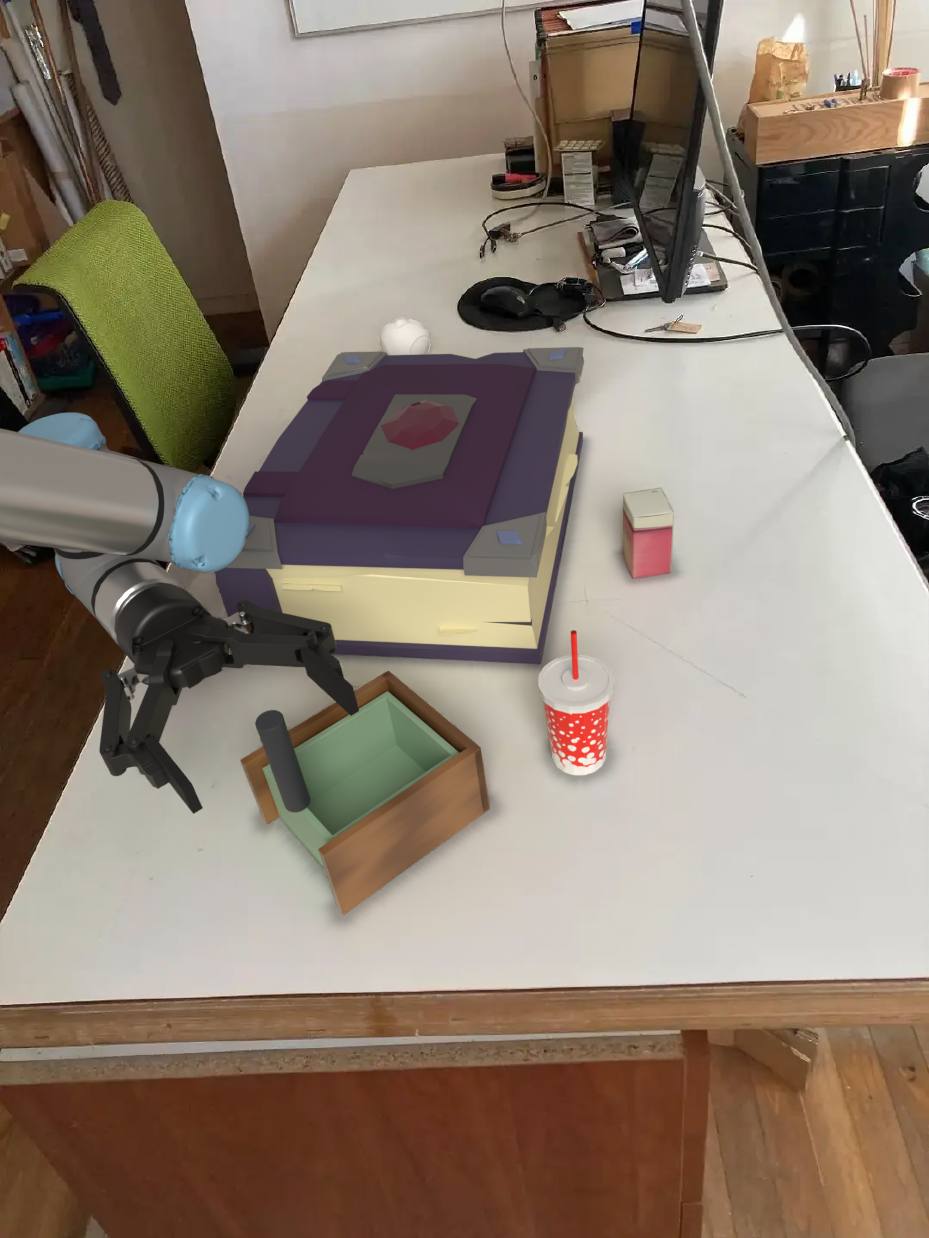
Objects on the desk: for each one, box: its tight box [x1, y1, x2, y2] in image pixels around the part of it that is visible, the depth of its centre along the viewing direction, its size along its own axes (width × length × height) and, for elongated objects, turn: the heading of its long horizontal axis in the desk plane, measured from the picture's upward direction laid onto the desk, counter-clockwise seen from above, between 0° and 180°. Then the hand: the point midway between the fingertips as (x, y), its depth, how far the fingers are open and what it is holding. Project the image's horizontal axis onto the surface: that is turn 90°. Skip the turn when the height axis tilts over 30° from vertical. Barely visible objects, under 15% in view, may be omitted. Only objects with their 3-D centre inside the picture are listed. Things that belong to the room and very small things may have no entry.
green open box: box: [254, 691, 459, 871], centre depth 72 cm, size 13×10×16 cm
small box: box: [621, 487, 675, 579], centre depth 97 cm, size 5×4×8 cm
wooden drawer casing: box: [240, 670, 490, 916], centre depth 75 cm, size 15×13×8 cm
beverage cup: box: [537, 629, 615, 776], centre depth 76 cm, size 6×6×14 cm
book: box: [214, 346, 585, 665], centre depth 105 cm, size 33×45×14 cm
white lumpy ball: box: [378, 315, 432, 355], centre depth 144 cm, size 8×8×8 cm
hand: (276, 748), depth 68 cm, fingers open, 13 cm apart
